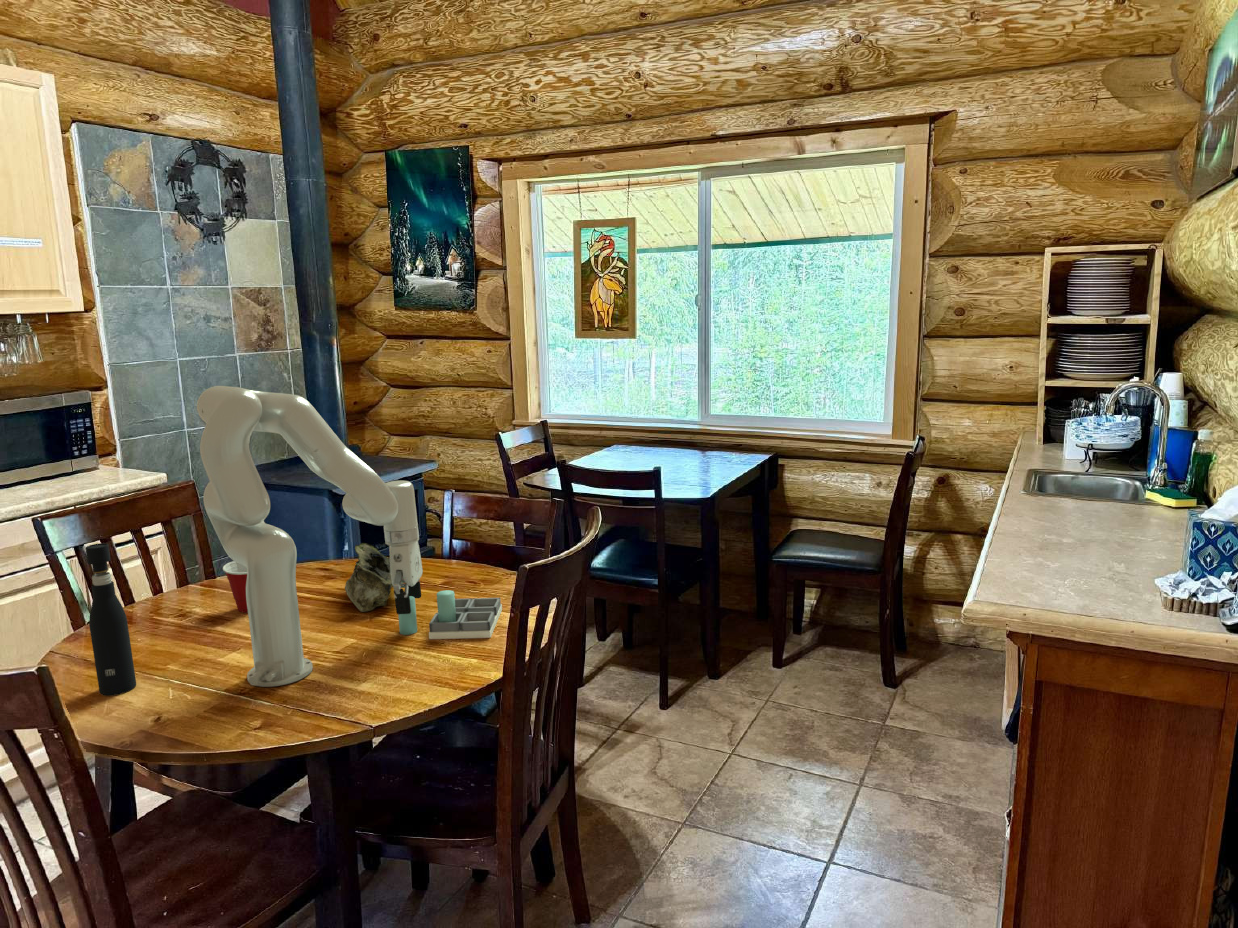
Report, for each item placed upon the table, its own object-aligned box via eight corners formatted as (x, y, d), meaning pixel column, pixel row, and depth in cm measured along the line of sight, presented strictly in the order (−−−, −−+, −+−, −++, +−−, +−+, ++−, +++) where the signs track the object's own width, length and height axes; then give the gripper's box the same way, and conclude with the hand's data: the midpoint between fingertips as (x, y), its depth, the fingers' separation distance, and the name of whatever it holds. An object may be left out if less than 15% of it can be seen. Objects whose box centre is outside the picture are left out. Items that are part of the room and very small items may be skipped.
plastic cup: (242, 619, 204) (236, 573, 202) (219, 611, 211) (214, 565, 209) (282, 606, 213) (277, 561, 211) (259, 598, 219) (255, 555, 217)
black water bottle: (129, 678, 172) (108, 539, 167) (141, 687, 168) (121, 544, 163) (94, 690, 167) (72, 547, 162) (106, 698, 163) (84, 552, 158)
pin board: (490, 637, 188) (488, 597, 187) (429, 639, 189) (426, 599, 187) (502, 609, 206) (500, 572, 204) (446, 610, 206) (443, 574, 204)
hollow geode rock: (376, 596, 233) (334, 562, 229) (407, 562, 234) (366, 528, 230) (368, 629, 206) (320, 591, 202) (403, 591, 206) (356, 553, 203)
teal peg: (414, 634, 192) (412, 601, 190) (397, 635, 192) (395, 602, 190) (419, 628, 195) (416, 595, 194) (402, 628, 196) (399, 596, 194)
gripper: (408, 545, 181) (416, 619, 184) (426, 523, 198) (433, 591, 201) (374, 547, 181) (382, 620, 185) (395, 525, 198) (403, 592, 201)
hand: (409, 605), depth 193 cm, fingers open, 9 cm apart
